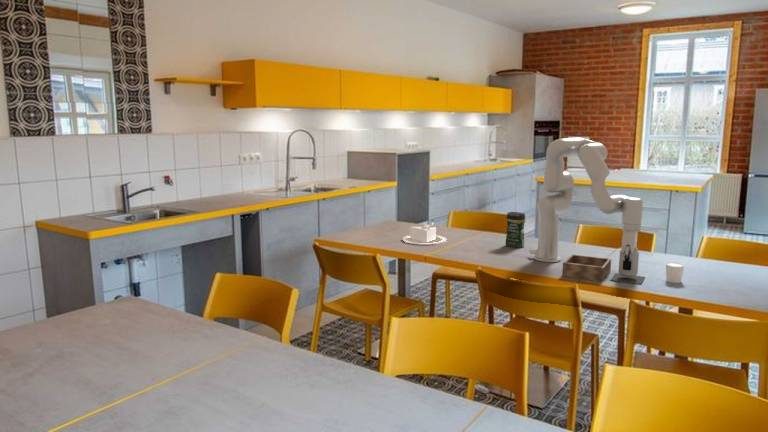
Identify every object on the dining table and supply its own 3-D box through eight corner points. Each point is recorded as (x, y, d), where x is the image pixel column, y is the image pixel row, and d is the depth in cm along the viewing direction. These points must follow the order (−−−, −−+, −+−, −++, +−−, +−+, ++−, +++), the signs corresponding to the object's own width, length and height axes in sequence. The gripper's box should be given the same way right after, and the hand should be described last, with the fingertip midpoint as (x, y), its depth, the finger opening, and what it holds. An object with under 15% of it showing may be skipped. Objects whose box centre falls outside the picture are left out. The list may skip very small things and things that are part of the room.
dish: (453, 239, 326) (454, 220, 324) (433, 248, 305) (433, 227, 304) (416, 234, 339) (416, 216, 337) (394, 242, 319) (394, 223, 317)
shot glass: (661, 278, 244) (662, 262, 243) (676, 278, 244) (678, 262, 243) (670, 283, 237) (671, 267, 236) (686, 282, 238) (687, 266, 237)
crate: (562, 275, 250) (562, 262, 249) (571, 267, 264) (572, 254, 263) (603, 281, 241) (603, 267, 240) (610, 271, 255) (611, 258, 254)
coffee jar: (503, 246, 306) (504, 212, 303) (509, 243, 313) (510, 210, 309) (520, 248, 300) (521, 214, 297) (526, 246, 307) (527, 211, 303)
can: (639, 278, 239) (641, 250, 237) (620, 277, 241) (622, 249, 238) (635, 273, 246) (637, 246, 244) (616, 272, 248) (618, 245, 246)
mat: (610, 280, 242) (610, 279, 242) (615, 273, 252) (615, 273, 252) (641, 284, 236) (641, 283, 235) (645, 277, 246) (645, 276, 246)
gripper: (624, 222, 249) (622, 261, 252) (618, 229, 234) (615, 271, 238) (643, 224, 245) (640, 264, 248) (637, 231, 231) (634, 273, 234)
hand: (628, 267), depth 243 cm, fingers closed on can, 7 cm apart
